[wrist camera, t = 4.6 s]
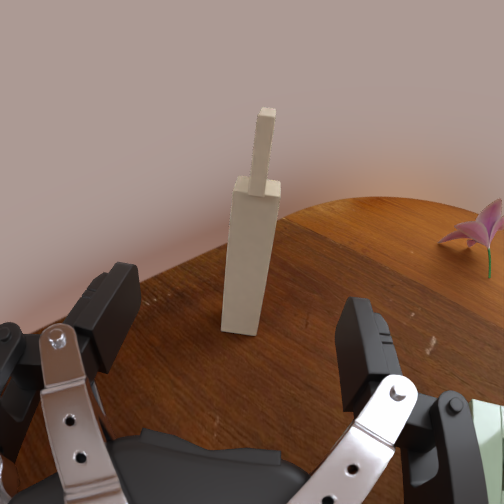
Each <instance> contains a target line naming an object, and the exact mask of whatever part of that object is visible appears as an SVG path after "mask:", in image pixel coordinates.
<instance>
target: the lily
mask: <svg viewBox="0 0 504 504" xmlns="http://www.w3.org/2000/svg"><path fill="white" fill-rule="evenodd" d="M501 212H502V200H501V199H497V200H495V201H494V202H492V203H491V204H489V205H488V206H487V207H486V208H484V209H483V210H482V212H481V213H480V214H479V215H478V217H477V219H475V220H476V221H470V222H464V223H460V224H457V225H455V226H454V227H455V228H456V229H457V231H454V232H452V233H450V234H448V235H447V236H445V237H444V238H442V239H441V240H440V241H439V242H438V243H442V242H446V241H449V240H453V239H458V238H472V239H473V240H467V245H468V247H471V246H473V245H474V244H475V243H476V242H478V243H480V244H483V245H485V246H486V247H487V249H488V255H489V278H490V277H491V255H490V243H491V241H492V239H493V237H494V235H495V233H496V232H497V231H499V230H504V216H502V217H501Z"/></svg>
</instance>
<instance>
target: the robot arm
mask: <svg viewBox="0 0 504 504" xmlns="http://www.w3.org/2000/svg"><path fill="white" fill-rule="evenodd" d="M140 304H141V292H140V284H139V276H138V268H137V266H136V265H134V264H127V263H122V262H117V263H116V264H115V265H114V266H113V268H112V269H111V270H110V272H109V273H102V274H101V275H99V276H98V277H96V278H95V279H94V280H93V281H92V282H91V284H90V285H89V286H88V288H87V290H85V292H84V293H83V294H82V297H81V298H80V299H79V300H78V301H77V303H76V304H75V306H74V307H73V309H72V310H71V311H70V313H69V314H68V316H67V317H66V319H65V320H64V322H63V323H58V324H54V325H51V326H49V327H48V328H46V329H45V330H44V331H43V332H42V334H23V333H22V331H21V329H20V327H19V326H18V325H17V324H15V323H11V322H7V323H3V324H1V325H0V396H1V393H2V390H3V388H4V387H5V385H6V383H7V381H8V379H9V377H10V376H11V377H12V378H11V380H10V382H9V384H8V386H7V388H6V390H5V392H4V394H3V396H2V398H1V400H0V504H361V503H362V502H363V500H364V499H365V498H366V496H367V495H368V493H369V492H370V490H371V489H372V487H373V486H374V484H375V483H376V481H377V480H378V478H379V477H380V475H381V474H382V472H383V470H384V469H385V467H386V465H387V464H388V462H389V460H390V459H391V457H392V455H393V454H394V451H395V447H399V448H400V450H401V461H402V473H403V488H404V504H489V501H488V493H487V487H486V480H485V474H484V468H483V463H482V458H481V453H480V448H479V444H478V439H477V435H476V431H475V427H474V423H473V419H472V415H471V412H470V408H469V405H468V402H467V401H466V399H465V398H464V397H463V396H462V395H461V394H459V393H458V392H455V391H445V392H443V393H442V394H441V395H440V396H439V397H438V398H435V397H431V396H428V395H424V394H421V393H418V392H417V389H416V387H415V385H414V384H413V383H412V382H411V381H410V380H409V379H407V378H406V377H404V376H403V375H402V372H401V368H400V365H399V361H398V358H397V354H396V351H395V347H394V345H393V341H392V337H391V336H390V331H389V328H388V325H387V323H386V321H385V320H384V319H383V317H382V316H381V315H380V314H379V313H373V310H372V307H371V303H370V300H369V299H366V298H358V297H349V298H348V299H347V301H346V304H345V306H344V309H343V311H342V314H341V316H340V319H339V321H338V324H337V327H336V331H335V345H336V352H337V360H338V368H339V376H340V384H341V393H342V403H343V412H354V419H353V421H352V422H351V423H350V425H349V426H348V427H347V429H346V430H345V431H344V433H343V434H342V435H341V437H340V438H339V439H338V440H337V442H336V443H335V444H334V445H333V447H332V448H331V449H330V450H329V452H328V453H327V454H326V455H325V456H324V458H323V459H322V460H321V461H320V462H319V463H318V464H317V466H316V467H315V468H314V469H313V470H312V471H311V472H310V473H309V474H308V473H307V472H306V471H304V470H303V469H301V468H300V467H298V466H296V465H295V464H293V463H290V462H288V461H286V460H283V459H281V451H276V450H264V449H254V448H238V449H226V450H207V449H204V448H202V447H199V446H197V445H195V444H192V443H190V442H188V441H186V440H184V439H181V438H179V437H177V436H175V435H170V434H166V433H162V432H158V431H154V430H150V429H146V428H142V431H141V434H140V435H135V436H126V437H121V438H116V436H115V434H114V431H113V429H112V427H111V425H110V423H109V420H108V418H107V415H106V412H105V409H104V406H103V403H102V400H101V397H100V394H99V391H98V388H97V384H96V381H95V379H94V378H95V376H96V374H97V372H98V371H99V372H102V373H105V374H108V373H109V370H110V368H111V366H112V364H113V362H114V360H115V358H116V356H117V353H118V351H119V349H120V347H121V345H122V343H123V341H124V339H125V337H126V335H127V333H128V331H129V329H130V327H131V325H132V323H133V321H134V319H135V317H136V315H137V313H138V311H139V308H140ZM40 399H41V403H42V409H43V414H44V419H45V424H46V429H47V433H48V438H49V442H50V446H51V450H52V453H53V457H54V461H55V464H56V468H57V471H58V472H56V473H55V474H53V475H51V476H49V477H47V478H45V479H44V480H42V481H40V482H38V483H36V484H34V485H32V486H30V487H29V488H27V489H25V490H23V491H21V492H19V493H18V489H17V488H18V487H19V486H20V480H19V478H18V471H17V468H16V466H15V461H16V459H17V456H18V453H19V450H20V448H21V445H22V442H23V440H24V437H25V435H26V432H27V430H28V427H29V425H30V422H31V420H32V418H33V415H34V413H35V410H36V408H37V406H38V404H39V401H40ZM394 446H395V447H394Z"/></svg>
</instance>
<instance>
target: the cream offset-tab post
mask: <svg viewBox="0 0 504 504" xmlns="http://www.w3.org/2000/svg"><path fill="white" fill-rule="evenodd" d="M275 117H276V109H274V108H266V107H262V108H261V110H260V112H259V114H258V115H257V122H256V130H255V139H254V147H253V155H252V163H251V172H250V177H245V176H238V179H237V181H236V184H235V186H234V188H233V192H232V203H231V214H230V224H229V235H228V247H227V258H226V271H225V283H224V296H223V309H222V323H221V331H224V332H231V333H238V334H245V335H252V336H256V334H257V329H258V323H259V318H260V313H261V307H262V302H263V296H264V290H265V285H266V279H267V274H268V268H269V262H270V256H271V251H272V245H273V239H274V233H275V227H276V221H277V216H278V209H279V203H280V197H281V195H280V192H281V191H280V190H281V189H280V181H274V180H267V175H268V168H269V161H270V153H271V146H272V139H273V132H274V125H275Z"/></svg>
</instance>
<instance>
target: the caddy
mask: <svg viewBox="0 0 504 504" xmlns="http://www.w3.org/2000/svg"><path fill="white" fill-rule="evenodd" d="M468 405H469V408H470V412H471V415H472V419H473V423H474V427H475V431H476V435H477V439H478V444H479V448H480V453H481V458H482V463H483V468H484V474H485V480H486V487H487V493H488V501H489V504H504V406H500V405H496V404H492V403H488V402H483V401H479V400H475V399H472V400H471V401H470V402H469V403H468Z"/></svg>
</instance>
